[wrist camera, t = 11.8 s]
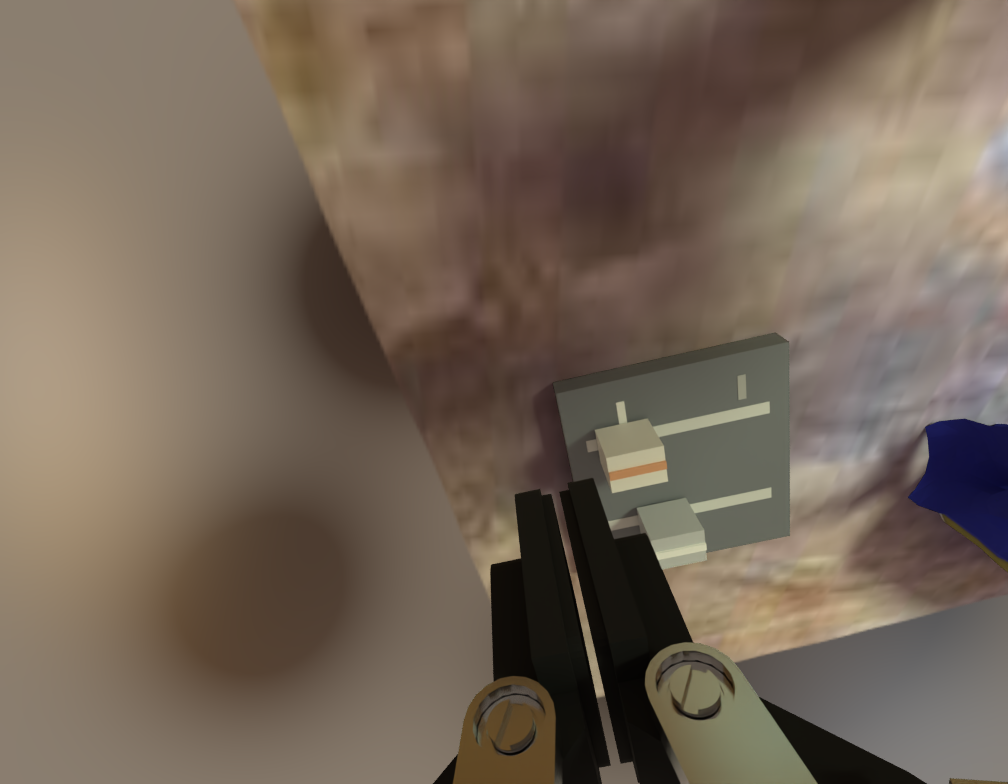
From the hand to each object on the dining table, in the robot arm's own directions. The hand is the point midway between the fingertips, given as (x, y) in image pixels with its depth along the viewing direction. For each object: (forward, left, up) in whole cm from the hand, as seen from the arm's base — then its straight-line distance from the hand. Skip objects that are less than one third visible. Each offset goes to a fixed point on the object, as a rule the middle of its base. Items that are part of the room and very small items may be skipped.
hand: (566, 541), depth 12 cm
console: (-10, +19, -29) cm, 36 cm away
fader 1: (-6, +15, -27) cm, 31 cm away
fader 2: (-8, +23, -27) cm, 36 cm away
